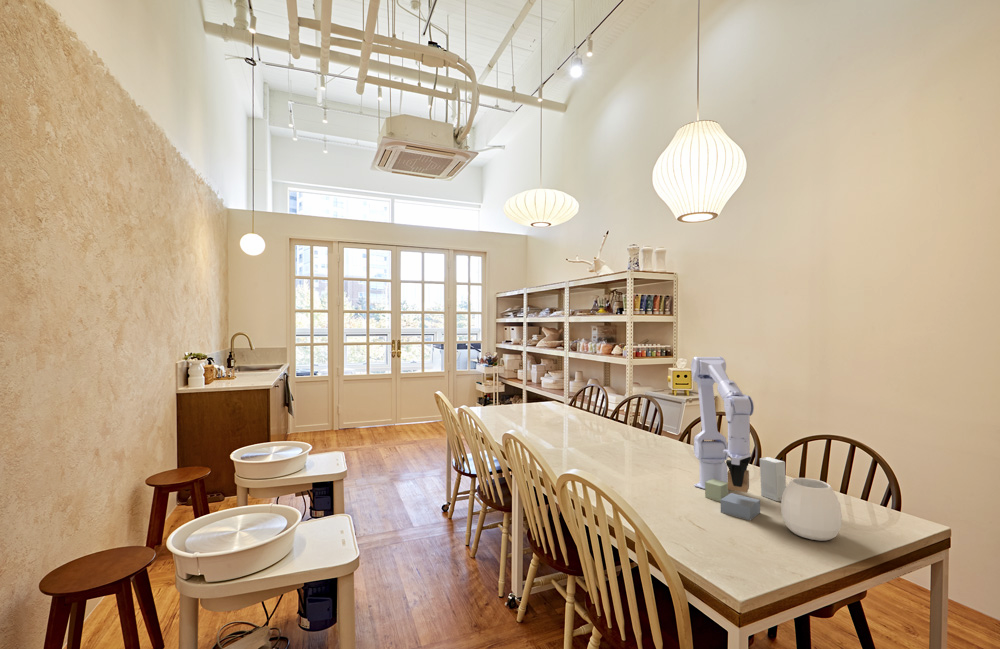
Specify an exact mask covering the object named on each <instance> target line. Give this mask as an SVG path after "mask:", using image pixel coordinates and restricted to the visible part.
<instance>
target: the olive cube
mask: <svg viewBox="0 0 1000 649" xmlns="http://www.w3.org/2000/svg"><path fill="white" fill-rule="evenodd" d="M729 494H730V493H729V489H728V483H727V482H723V481H719V480H716V479H711V480H709V481H706V482H705V489H704V498H705V499H710V500H713V501H715V502H720V503H721V499H722V498H724V497H726V496H727V495H729Z"/></svg>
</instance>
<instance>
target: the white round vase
mask: <svg viewBox="0 0 1000 649" xmlns="http://www.w3.org/2000/svg"><path fill="white" fill-rule="evenodd" d="M780 502H781V503H780V508H781V509H780V513H781V517H782V520H783V522H784V524H785V526H786V528H788V529H789V531H791V532H792V533H793V534H794V535H796V536H799V537H802V538H805V539H807V540H808V539H809V540H813V541H814V540H815V541H819V542H820V541H829V540H832V539H835V537H837V536H838V535H839V532H840V530H841V528H842V523H843V522H842V521H843V520H842V518H843V517H842V516H843V515H842V514H843V513H842V506H841V502H840V500H839V498H838V495H837V494H836V492H835V491H834V489H833V487H832V486H831V485H830V483H828V482H825V481H822V480H820V479H814V478H810V477H809V478H808V477H795V478H792V479H791V480H790V481H789V482H788V484H786V488H785V490H784V492H783V495H782V501H780Z"/></svg>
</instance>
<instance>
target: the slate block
mask: <svg viewBox="0 0 1000 649" xmlns="http://www.w3.org/2000/svg"><path fill="white" fill-rule="evenodd" d="M728 494H729V495H727V496H726V497H724V498H722V499H721V502H720V513H722V514H725V515H729V516H733V517H735V518H739V519H742V520H746V521H751V520H753V519H754V518H755V517H756V516H758V515H759V514H760V513H761V499H757V498H754V497H748V496H745V495H741V494H737V493H734V492H731V493H730V492H729V493H728Z"/></svg>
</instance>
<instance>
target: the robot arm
mask: <svg viewBox="0 0 1000 649" xmlns="http://www.w3.org/2000/svg"><path fill="white" fill-rule="evenodd" d="M690 367H691V368H690V370H691V378H692V381H693V382H694V383H696V385H697V392H698V402H699V413H700V423H701V431H700V432H699V433H697V434H696V435H695V436H694V438H693V439H694V440H693V442H694V443H693V454H694V457H696V459H697V460H699V482H697V483H694V484H693V486H694V487H697V488H699V489H703V490H705V482H706V481H709V480H711V479H716V480H719V481H723V482H727V483H728V471H729V470H730V473H731V478H732V482H733V486H737V487H742V484H743V478H744V473H745V470H748V466H749V464H750V461H751V460H752V457H751V456H752V455H751V454H752V453H751V451H750V450H751V448H750V447H751V446H750V445H751V444H750V443H751V441H750V437H751V436H750V435H751V432H750V430H751V428H750V427H751V425H750V422H751V417H750V416H752V415H753V414H754V409H755V407H754V406H755V405H754V401H753V399H752V397H751V395H747V394H744V393H743V392H742V391H741V389H740V387H739V386H738V385H737V383H736V382H735V381H734V380H731V379H730V378H729V377H728V374H727V372H726V370H727V363H726V359H724V357H723V356H694V357H692V360H691V363H690ZM715 383H716V385H717V392H718V394H719V396H720V397H721V399H722V401H723V402H724V403H723V407H724V412H725V421H727V438H726V437H725V435H723V434H722V433H720V432H719V431H718V423H717V412H716V403H715V402H716V401H715V392H714V385H715ZM728 458H730V459H728Z"/></svg>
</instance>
